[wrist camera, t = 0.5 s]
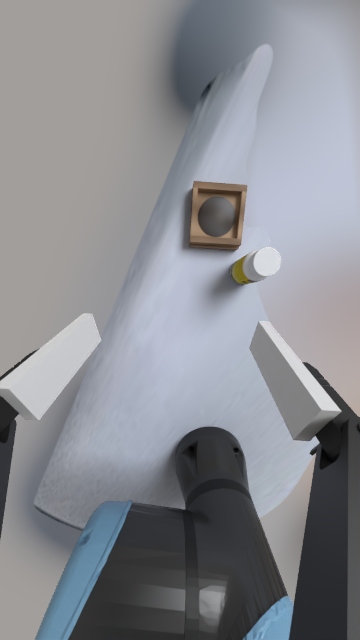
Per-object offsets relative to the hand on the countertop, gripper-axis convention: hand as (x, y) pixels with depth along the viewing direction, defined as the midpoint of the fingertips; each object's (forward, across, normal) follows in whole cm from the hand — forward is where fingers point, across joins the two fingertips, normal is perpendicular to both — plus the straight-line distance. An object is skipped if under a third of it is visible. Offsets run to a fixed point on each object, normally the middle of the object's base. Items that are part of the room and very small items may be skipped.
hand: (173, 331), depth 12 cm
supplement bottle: (+21, -11, 0) cm, 24 cm away
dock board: (+24, -6, -8) cm, 26 cm away
